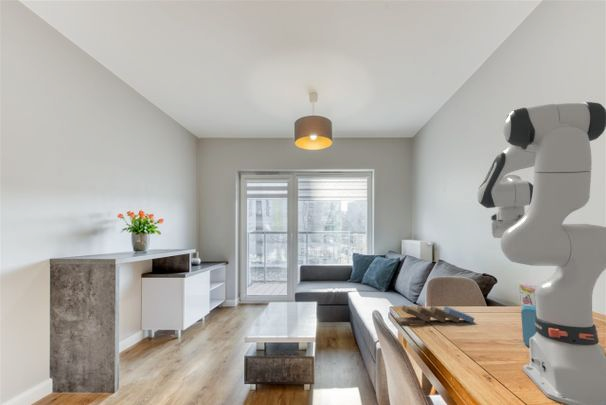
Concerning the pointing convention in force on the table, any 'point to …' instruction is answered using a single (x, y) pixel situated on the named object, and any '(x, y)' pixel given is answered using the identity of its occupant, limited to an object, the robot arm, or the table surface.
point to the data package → (528, 323)
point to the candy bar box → (527, 295)
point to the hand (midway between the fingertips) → (514, 250)
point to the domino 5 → (458, 314)
